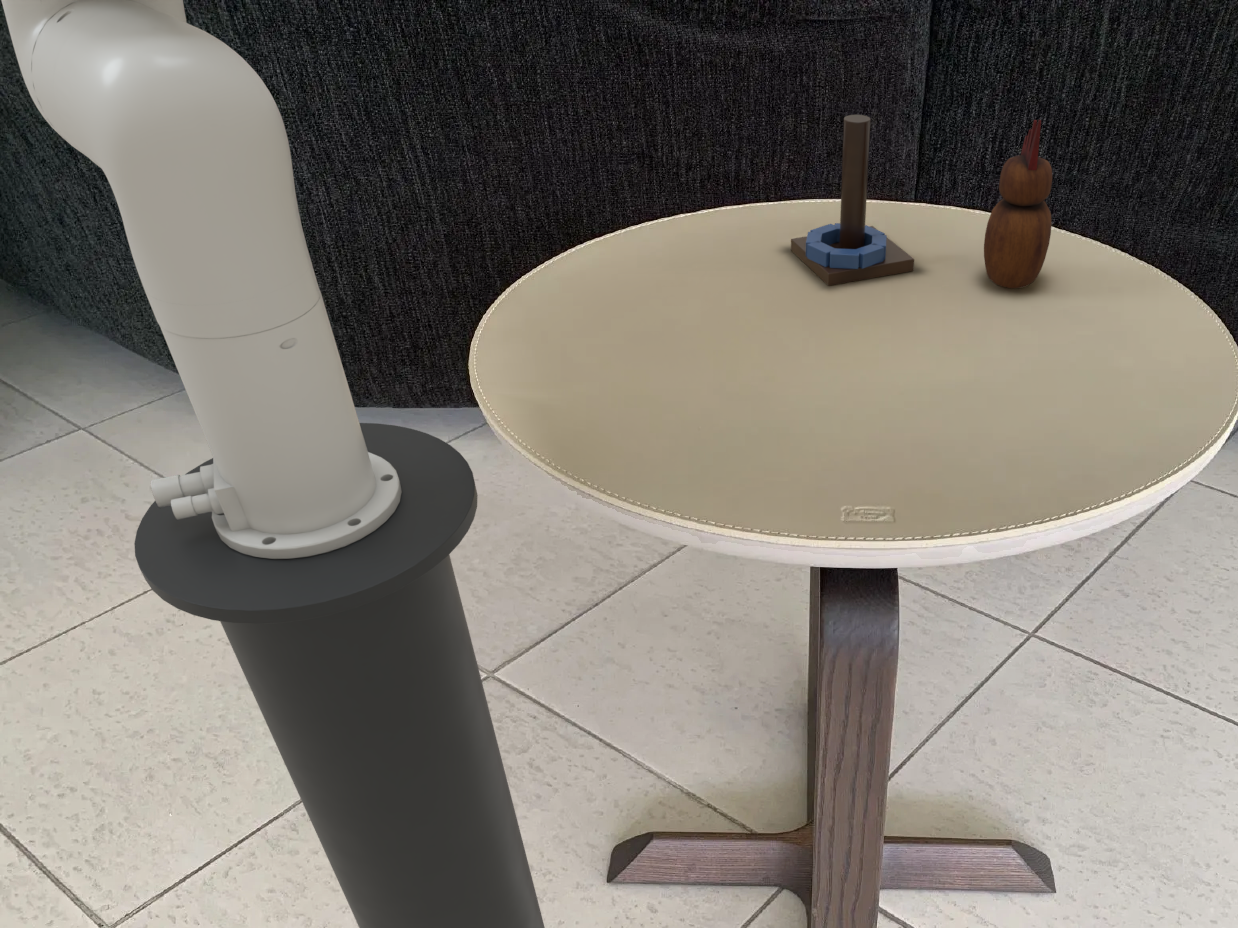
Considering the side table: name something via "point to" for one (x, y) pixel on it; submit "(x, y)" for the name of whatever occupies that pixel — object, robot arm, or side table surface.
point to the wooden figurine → (1020, 218)
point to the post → (855, 213)
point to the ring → (845, 258)
